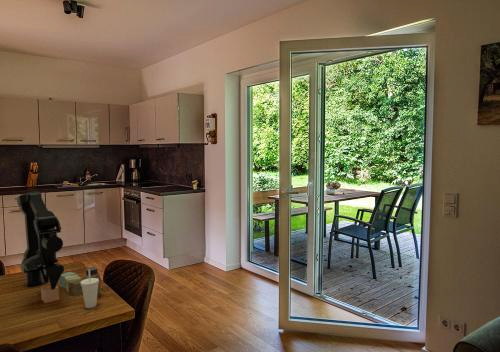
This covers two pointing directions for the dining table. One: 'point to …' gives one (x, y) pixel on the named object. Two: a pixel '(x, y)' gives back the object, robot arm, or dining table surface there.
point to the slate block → (62, 278)
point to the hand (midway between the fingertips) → (49, 286)
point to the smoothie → (90, 291)
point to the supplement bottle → (93, 275)
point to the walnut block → (75, 287)
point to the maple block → (70, 278)
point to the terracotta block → (49, 294)
